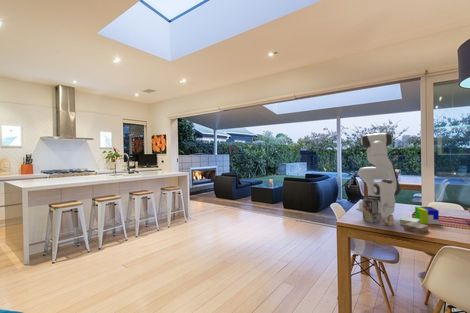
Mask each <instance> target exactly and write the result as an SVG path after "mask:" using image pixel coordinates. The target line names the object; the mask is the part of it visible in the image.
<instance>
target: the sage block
mask: <svg viewBox="0 0 470 313" xmlns="http://www.w3.org/2000/svg"><path fill="white" fill-rule="evenodd" d="M409 222H414V223H419V224H421V223H420V219H416V218H415V217H408V216H402V217H400V218H399V225H401V226H404V224H406V223H409Z"/></svg>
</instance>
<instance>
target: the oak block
mask: <svg viewBox="0 0 470 313" xmlns="http://www.w3.org/2000/svg"><path fill="white" fill-rule="evenodd" d="M381 218H382V225H383V224H384V225H383V226H387V225H388V227H392V226H394V215H393V214H391V215H390V216H389V217H388V223H386V222H385V219H384V218H383V217H381ZM391 225H392V226H391Z"/></svg>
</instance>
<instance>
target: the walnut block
mask: <svg viewBox="0 0 470 313" xmlns="http://www.w3.org/2000/svg"><path fill="white" fill-rule="evenodd" d="M403 230H404V231H406V230H407V232H410V231H411V233H414V232H416V234H418V233H420V234H419V235H423V234H425V233H427V232H429V224H422V223H420V224H419V223H414V222H409V223H406V224H404V225H403ZM424 232H425V233H424ZM422 233H423V234H422Z"/></svg>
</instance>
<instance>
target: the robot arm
mask: <svg viewBox="0 0 470 313" xmlns="http://www.w3.org/2000/svg"><path fill="white" fill-rule="evenodd" d="M392 144H393V137H392V134H391V133H389V132H385V133H381V132H377V133H371V134H370V133H369V134H364V135H362V136H361V138H360V145H361V146H362V148H366V149H367V150H366V151H367V152H366V155H367V156H366V158H367V162H369V164H372V165H373V166H364V167H360V168H359V169H358V171H357V174H358V176H359V178H360V179H362V181H364V183H365V184H366V186H367V194H366V195H364V197H366V198H365V199H371V200H375V201H378V214H380V216H381V218H382V217H383V218H384V219H385V222H386V223H388V217H389V216H390V215H393V214H394V212H395V206H396V202H397V201H396V199H395V198H396V197H397V196H399V195H400V194H401V193H402V188H401V184H400V182H399V180H398V175H397V172H396V168H395V165H394V163H393V162H392V161H391V160H390V159H389V157H388V149H387V147H389V146H391V145H392ZM375 180H379V182H376V181H375ZM355 210H358V211H362V212H363V200H361V201H359V203H358V206H356V208H355Z"/></svg>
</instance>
